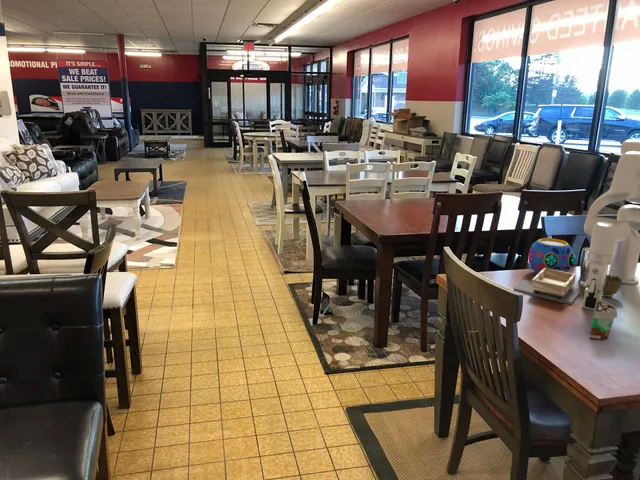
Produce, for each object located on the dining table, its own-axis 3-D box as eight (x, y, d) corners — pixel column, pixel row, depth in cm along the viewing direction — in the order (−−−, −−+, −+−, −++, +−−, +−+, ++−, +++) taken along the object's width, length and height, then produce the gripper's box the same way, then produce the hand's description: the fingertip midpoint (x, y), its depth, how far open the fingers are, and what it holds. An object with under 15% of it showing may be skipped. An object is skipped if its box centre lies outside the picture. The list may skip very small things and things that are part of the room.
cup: (621, 301, 190) (625, 281, 188) (599, 299, 191) (603, 279, 189) (614, 294, 197) (618, 274, 195) (593, 292, 198) (597, 273, 196)
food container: (611, 346, 155) (617, 316, 153) (588, 341, 158) (594, 311, 156) (613, 331, 165) (619, 303, 163) (592, 326, 169) (597, 298, 166)
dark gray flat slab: (523, 281, 208) (523, 279, 208) (579, 294, 196) (579, 291, 196) (513, 290, 198) (513, 288, 198) (571, 304, 186) (571, 302, 186)
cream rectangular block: (584, 303, 188) (588, 285, 186) (599, 306, 185) (603, 288, 183) (581, 307, 184) (585, 289, 182) (597, 311, 181) (600, 292, 179)
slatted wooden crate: (542, 281, 205) (544, 267, 204) (573, 288, 199) (575, 274, 197) (529, 293, 192) (532, 279, 190) (562, 301, 185) (565, 286, 184)
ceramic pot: (540, 283, 206) (546, 248, 202) (517, 269, 223) (522, 236, 218) (580, 282, 209) (586, 247, 204) (554, 268, 225) (559, 235, 221)
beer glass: (594, 284, 207) (601, 249, 203) (595, 289, 201) (602, 253, 197) (576, 281, 210) (582, 246, 206) (576, 286, 204) (582, 251, 200)
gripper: (607, 265, 170) (598, 315, 175) (616, 254, 183) (606, 300, 188) (583, 260, 175) (574, 309, 180) (593, 249, 188) (584, 295, 193)
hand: (591, 304), depth 184 cm, fingers closed on cream rectangular block, 5 cm apart
